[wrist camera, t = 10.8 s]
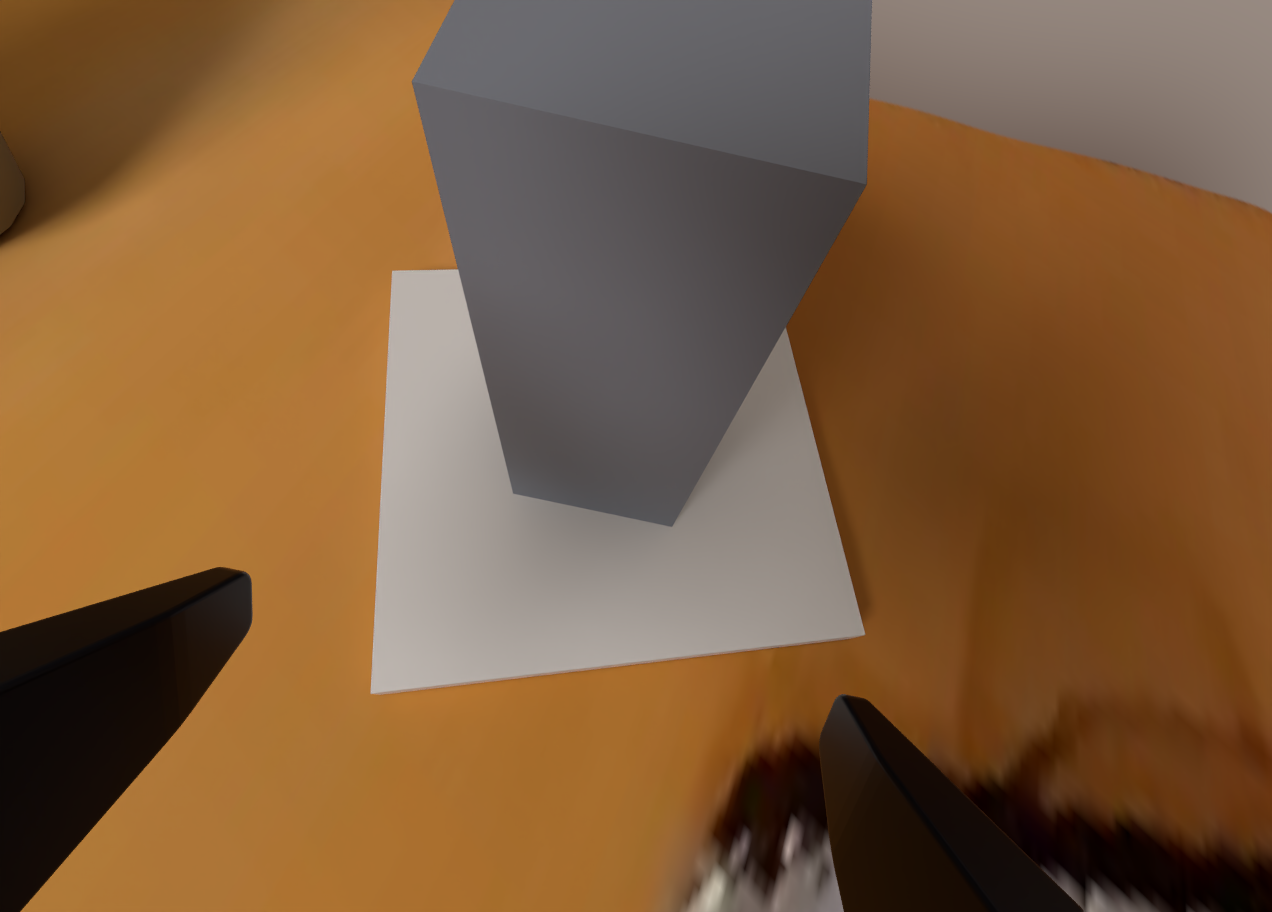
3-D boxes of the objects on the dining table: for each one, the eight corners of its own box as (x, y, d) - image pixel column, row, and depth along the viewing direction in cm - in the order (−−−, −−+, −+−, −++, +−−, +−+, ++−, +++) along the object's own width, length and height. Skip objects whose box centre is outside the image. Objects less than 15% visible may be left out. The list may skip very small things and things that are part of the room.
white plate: (850, 638, 18) (865, 634, 18) (381, 694, 16) (370, 693, 16) (761, 280, 24) (769, 263, 23) (399, 289, 22) (392, 270, 21)
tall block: (672, 526, 18) (866, 184, 6) (513, 493, 18) (412, 82, 6) (694, 389, 20) (873, -63, 8) (552, 359, 20) (530, -144, 8)
